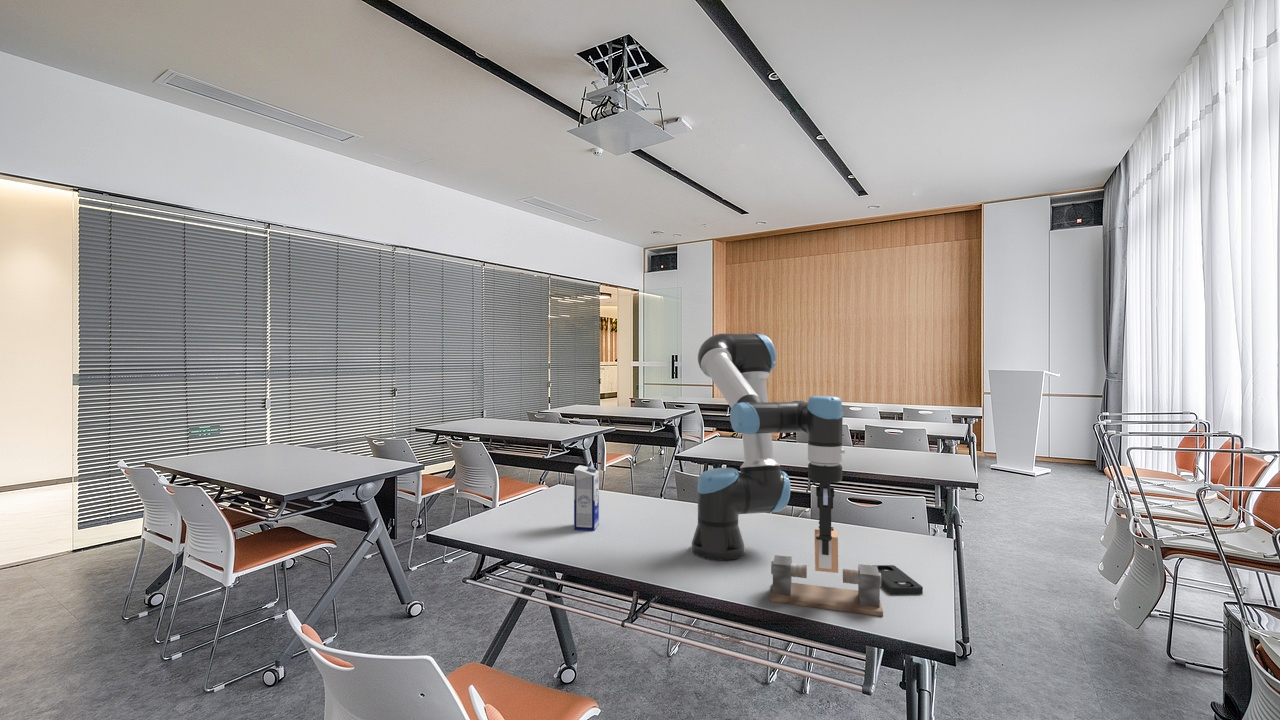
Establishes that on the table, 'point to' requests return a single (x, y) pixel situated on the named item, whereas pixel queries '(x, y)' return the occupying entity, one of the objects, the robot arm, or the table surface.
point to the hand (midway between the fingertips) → (825, 563)
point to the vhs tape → (897, 581)
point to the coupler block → (834, 552)
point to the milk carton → (586, 498)
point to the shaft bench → (827, 588)
